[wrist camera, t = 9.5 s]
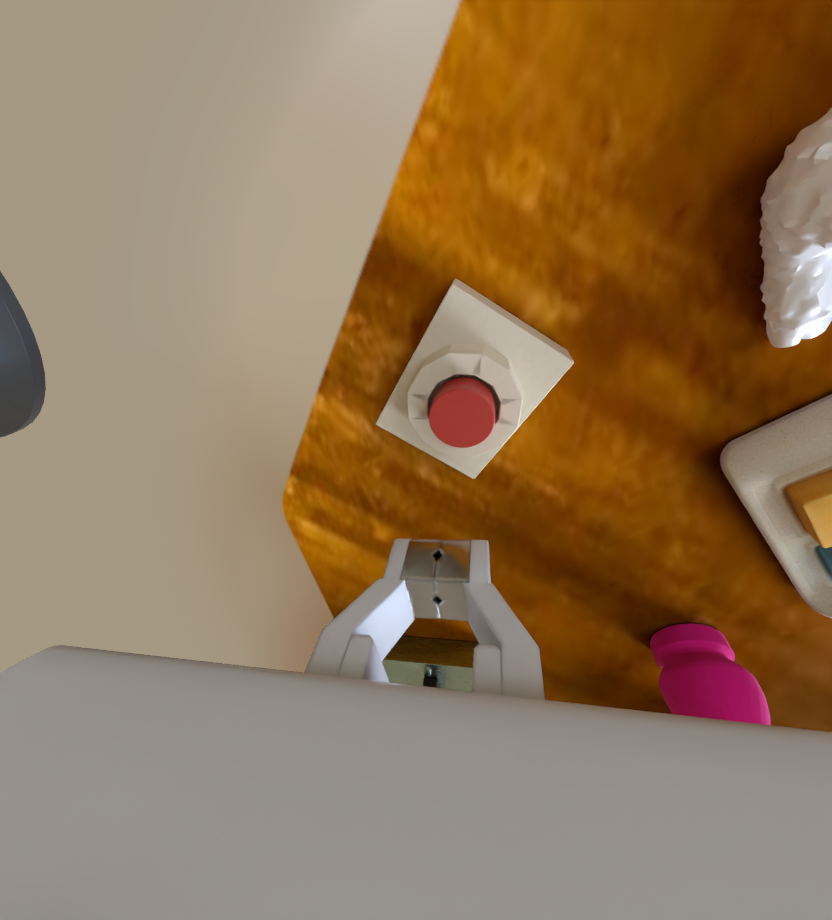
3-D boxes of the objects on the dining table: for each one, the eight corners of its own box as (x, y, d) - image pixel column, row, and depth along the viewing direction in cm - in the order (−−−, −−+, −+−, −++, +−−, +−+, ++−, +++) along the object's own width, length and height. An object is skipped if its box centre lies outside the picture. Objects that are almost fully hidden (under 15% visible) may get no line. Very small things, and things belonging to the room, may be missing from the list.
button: (472, 443, 22) (470, 458, 21) (421, 414, 22) (417, 428, 20) (507, 397, 20) (509, 411, 19) (453, 364, 20) (450, 376, 18)
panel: (392, 682, 50) (387, 707, 47) (374, 633, 43) (366, 659, 41) (495, 693, 47) (495, 721, 44) (491, 642, 40) (491, 671, 38)
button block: (475, 462, 27) (472, 496, 24) (382, 410, 26) (367, 438, 23) (567, 350, 21) (582, 373, 18) (455, 277, 20) (448, 288, 17)
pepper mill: (751, 637, 33) (1012, 1057, 16) (688, 669, 37) (846, 1028, 20) (682, 609, 32) (882, 1013, 16) (627, 644, 36) (738, 993, 20)
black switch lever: (423, 677, 41) (418, 714, 38) (437, 678, 41) (433, 716, 38) (430, 701, 44) (426, 737, 41) (443, 703, 44) (439, 739, 41)
